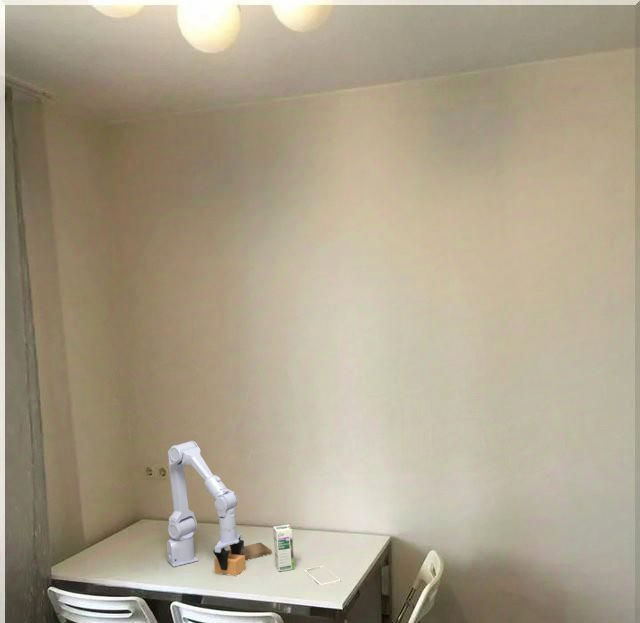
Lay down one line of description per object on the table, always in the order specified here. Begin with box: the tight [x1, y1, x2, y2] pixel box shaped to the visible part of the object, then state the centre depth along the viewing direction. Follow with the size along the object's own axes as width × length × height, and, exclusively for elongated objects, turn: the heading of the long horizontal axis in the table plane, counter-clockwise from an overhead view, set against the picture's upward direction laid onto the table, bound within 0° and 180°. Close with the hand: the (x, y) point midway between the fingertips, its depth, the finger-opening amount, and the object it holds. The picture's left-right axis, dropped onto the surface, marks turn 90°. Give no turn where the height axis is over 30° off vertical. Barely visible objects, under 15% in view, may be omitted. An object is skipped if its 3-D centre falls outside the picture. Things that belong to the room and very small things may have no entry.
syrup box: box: [272, 524, 295, 572], centre depth 243 cm, size 6×6×14 cm
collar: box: [213, 554, 246, 576], centre depth 243 cm, size 6×9×5 cm, turn 64°
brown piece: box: [226, 542, 273, 561], centre depth 257 cm, size 18×10×6 cm, turn 119°
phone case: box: [303, 564, 341, 587], centre depth 234 cm, size 7×1×15 cm
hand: (230, 565), depth 243 cm, fingers open, 7 cm apart
